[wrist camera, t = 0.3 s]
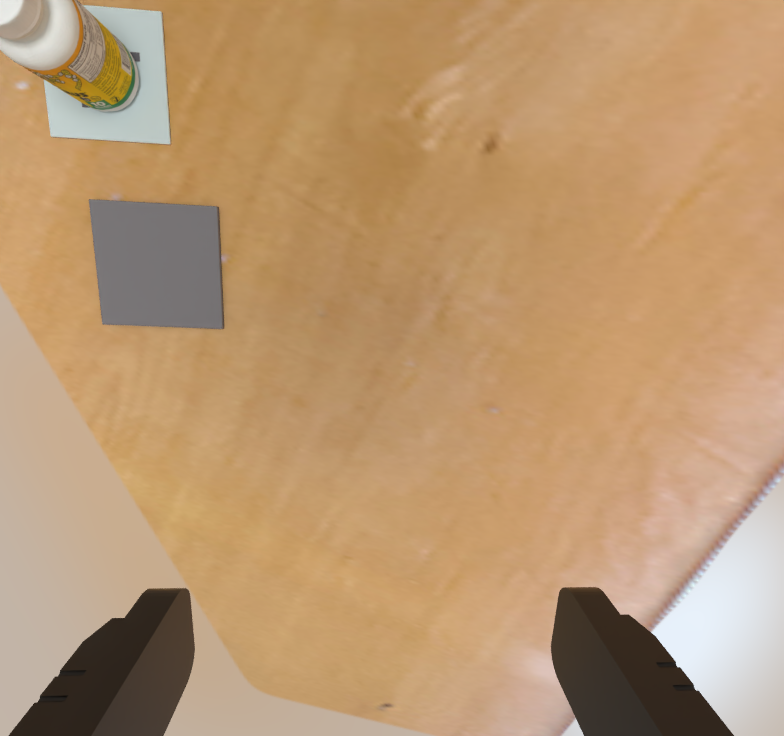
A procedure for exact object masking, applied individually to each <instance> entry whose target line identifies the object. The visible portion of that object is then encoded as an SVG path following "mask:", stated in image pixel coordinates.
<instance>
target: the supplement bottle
mask: <svg viewBox="0 0 784 736" xmlns="http://www.w3.org/2000/svg"><path fill="white" fill-rule="evenodd" d="M0 50H1V51H2V52H3V53H4V54H5V55H7V56H8V57H9V58H10V59H12V60H13V61H14V62H16V63H18V64H19V65H21V66H23V67H24V68H26V69H28V70H29V71H31V72H32V73H34V74H36V75H38V76H39V77H41V78H42V79H44V80H46V81H47V82H49V83H51V84H52V85H54V86H55V87H57V88H59V89H60V90H62V91H63V92H65V93H67V94H68V95H70V96H72V97H73V98H75V99H77V100H78V101H80V102H81V103H83V104H85V105H86V106H88V107H90V108H92V109H95V110H98V111H104V112H108V111H118V110H121V109H123V108H125V107H126V106H128V105H129V104H130V103H131V102H132V100H133V99H134V97H135V95H136V92H137V89H138V86H139V76H138V69H137V66H136V63H135V61H134V58H133V57H132V55H131V53H130V52H129V50H128V49H127V48H126V47H125V45H124V44H123V43H122V42H121V41H120V40H119V39H118V38H117V37H116V36H115V35H114V34H112V33H111V32H110V31H109V30H108V29H107V28H106V27H105V26H104V25H103V24H102V23H101V22H100V21H99V20H98V19H96V18H95V17H94V16H93V15H92V14H91V13H90V12H89V11H88V10H87V9H86V8H85V7H84V6H83V5H82V4H81V3H80V2H79V1H78V0H0Z"/></svg>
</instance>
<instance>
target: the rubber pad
mask: <svg viewBox="0 0 784 736" xmlns="http://www.w3.org/2000/svg"><path fill="white" fill-rule="evenodd" d="M89 205H90V214H91V223H92V233H93V242H94V251H95V260H96V269H97V278H98V288H99V297H100V306H101V315H102V324H107V325H133V326H159V327H185V328H211V329H224V315H223V292H222V270H221V247H220V225H219V207H216V206H198V205H180V204H163V203H145V202H127V201H109V200H92V199H89Z"/></svg>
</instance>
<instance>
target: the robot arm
mask: <svg viewBox="0 0 784 736" xmlns="http://www.w3.org/2000/svg"><path fill="white" fill-rule="evenodd" d="M194 651H195V646H194V634H193V623H192V611H191V600H190V593H189V591H188V589H186V588H185V589H184V588H182V589H181V588H180V589H179V588H178V589H177V588H170V589H147V590H146V591H145V592H144V593H143V594H142V595H141V596H140V597H139V599H138V600H137V602H136V603H135V604H134V606H133V607H132V609H131V610H130V611H129V613H128V614H127V615H126V617H125V618H112V619H111V620H110V621H108V622H107V623H106V624H105V625H103V626H102V627H101V628H100V629H98V630H97V631H96V632H95V633H93V634H92V635H91V636H90V637H88V638H87V639H86V640H85V641H83V642H82V644H81V645H80V646H79V648H78V649H77V650H76V651H75V653H74V654H73V655H72V657H71V658H70V659H69V660H68V661H67V663H66V664H65V665H64V666H63V668H62V669H61V670H60V674H59V676H58V677H55V678H54V679H53V681H52V682H51V683H50V684H49V685H48V687H47V688H46V689H45V690H44V692H43V693H42V694H41V695H40V699H39V701H38V702H37V703H34V704H33V706H32V707H31V708H30V709H29V711H28V712H27V713H26V715H25V716H24V717H23V718H22V719H21V721H20V722H19V723H18V724H17V726H16V727H15V728H14V729H13V731H12V732H11V733H10V735H9V736H163V735H164V733H165V731H166V729H167V727H168V724H169V722H170V720H171V718H172V716H173V713H174V711H175V709H176V707H177V704H178V702H179V700H180V698H181V696H182V694H183V691H184V689H185V687H186V684H187V682H188V679H189V676H190V673H191V670H192V665H193V659H194ZM551 653H552V660H553V665H554V669H555V672H556V675H557V678H558V680H559V682H560V685H561V687H562V689H563V691H564V693H565V695H566V698H567V700H568V702H569V704H570V706H571V708H572V711H573V713H574V715H575V717H576V719H577V721H578V723H579V725H580V728H581V730H582V732H583V734H584V736H734V735H733V734H732V733H731V731H730V730H729V729H728V728H727V726H726V725H725V724H724V722H723V721H722V720H721V719H720V717H719V716H718V715H717V714H716V712H715V711H714V710H713V709H712V707H711V706H710V705H709V703H708V702H707V701H706V700H705V699H704V697H703V696H702V695H701V693H700V692H699V691H696V690H695V689H694V685H693V683H692V682H691V681H690V679H689V678H688V677H687V676H686V674H685V673H684V672H683V671H682V669H681V668H680V667H679V668H678V667H677V666H676V662H675V661H674V659H673V658H672V657H671V655H670V654H669V653H668V652H667V651H666V649H665V648H664V647H663V646H662V644H661V643H660V642H659V640H658V639H657V638H656V636H654V635H653V634H652V633H651V632H650V631H648V630H647V629H646V628H645V627H643V626H642V625H641V624H640V623H638V622H637V621H636V620H635V619H634V618H632V617H631V616H630V615H620V614H619V612H618V611H617V609H616V608H615V607H614V605H613V604H612V603H611V601H610V600H609V599H608V597H607V596H606V595H605V593H604V592H603V591H602V590H601V589H599V588H596V587H570V588H562V589H561V590H560V592H559V597H558V603H557V610H556V616H555V623H554V629H553V635H552V642H551Z"/></svg>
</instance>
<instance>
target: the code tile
mask: <svg viewBox="0 0 784 736" xmlns="http://www.w3.org/2000/svg"><path fill="white" fill-rule="evenodd" d="M83 6H84V7H85V8H86V9H87V10H88V11H89V12H90V13H91V14H92V15H93V16H94V17H95V18H96V19H98V20H99V21H100V22H101V23H102V24H103V25H104V26H105V27H106V28H107V29H108V30H109V31H110V32H111V33H112V34H114V35H115V36H116V37H117V38H118V39H119V40H120V41H121V42H122V43H123V44H124V45H125V47H126V48H127V49H128V50H129V52H130V53H131V55H132V57H133V58H134V61H135V63H136V66H137V69H138V76H139V86H138V89H137V92H136V95H135V97H134V99H133V100H132V102H131V103H130V104H129V105H128V106H126V107H125V108H123V109H121V110H118V111H108V112H104V111H98V110H95V109H92V108H90V107H88V106H86V105H85V104H83V103H81V102H80V101H78V100H77V99H75V98H73V97H72V96H70V95H68V94H67V93H65V92H63V91H62V90H60V89H59V88H57V87H55V86H54V85H52V84H51V83H49V82H47V81H46V80H44V86H45V94H46V102H47V110H48V118H49V126H50V134H51V137H58V138H73V139H89V140H104V141H120V142H135V143H150V144H166V145H171V137H170V121H169V106H168V91H167V76H166V61H165V46H164V31H163V16H162V12H160V11H149V10H137V9H125V8H113V7H101V6H89V5H83Z"/></svg>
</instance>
